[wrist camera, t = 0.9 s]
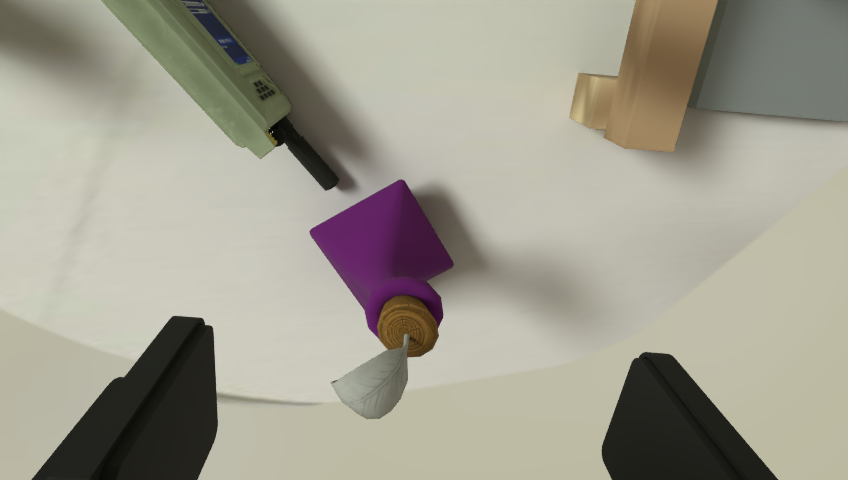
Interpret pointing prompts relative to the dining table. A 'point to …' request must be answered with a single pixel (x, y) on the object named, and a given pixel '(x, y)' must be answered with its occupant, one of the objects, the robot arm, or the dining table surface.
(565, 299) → the dining table surface
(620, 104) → the walnut bar
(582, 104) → the bar rest
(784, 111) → the stand
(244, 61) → the handheld radio
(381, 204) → the purple potion bottle
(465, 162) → the dining table surface
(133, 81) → the dining table surface
